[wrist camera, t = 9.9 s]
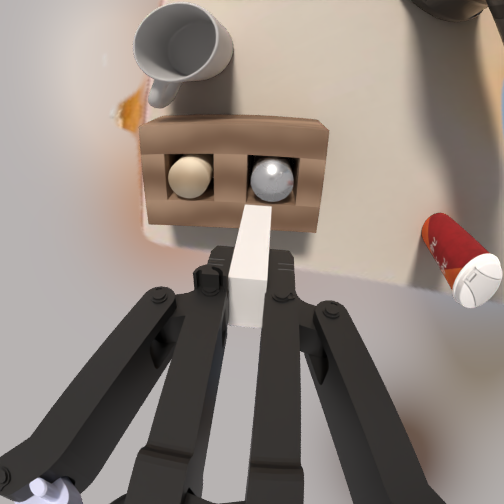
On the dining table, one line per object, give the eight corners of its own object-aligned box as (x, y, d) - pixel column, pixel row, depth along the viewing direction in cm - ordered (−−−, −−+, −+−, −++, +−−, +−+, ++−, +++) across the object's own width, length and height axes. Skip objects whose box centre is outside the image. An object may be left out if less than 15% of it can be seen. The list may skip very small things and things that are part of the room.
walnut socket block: (162, 116, 36) (138, 126, 29) (317, 119, 35) (329, 130, 29) (167, 198, 42) (148, 224, 36) (308, 204, 42) (315, 232, 35)
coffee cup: (405, 235, 43) (446, 298, 31) (437, 196, 39) (490, 248, 27) (435, 258, 45) (473, 319, 33) (464, 223, 41) (513, 277, 29)
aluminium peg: (254, 144, 37) (251, 160, 30) (290, 146, 37) (295, 163, 30) (253, 177, 40) (250, 200, 33) (287, 179, 39) (291, 203, 33)
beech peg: (185, 143, 37) (167, 159, 31) (219, 143, 37) (208, 159, 30) (186, 174, 40) (169, 197, 33) (219, 175, 40) (209, 198, 33)
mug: (184, 11, 28) (154, -9, 19) (245, 33, 30) (236, 17, 20) (146, 91, 34) (106, 100, 25) (203, 114, 36) (180, 128, 26)
